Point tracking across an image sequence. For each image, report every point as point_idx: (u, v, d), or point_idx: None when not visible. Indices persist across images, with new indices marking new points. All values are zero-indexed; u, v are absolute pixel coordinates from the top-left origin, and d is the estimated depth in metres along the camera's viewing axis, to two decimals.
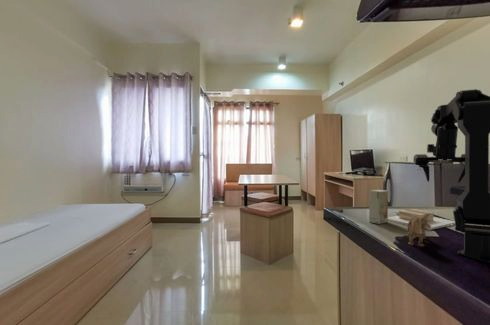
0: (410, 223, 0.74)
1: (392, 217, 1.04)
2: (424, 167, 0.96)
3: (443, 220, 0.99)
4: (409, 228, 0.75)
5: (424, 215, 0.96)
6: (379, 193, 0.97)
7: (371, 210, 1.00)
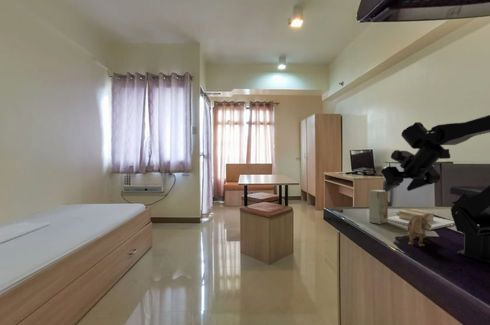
0: (410, 223, 0.74)
1: (392, 217, 1.04)
2: (395, 185, 0.85)
3: (443, 220, 0.99)
4: (409, 228, 0.75)
5: (424, 215, 0.96)
6: (379, 193, 0.97)
7: (371, 210, 1.00)
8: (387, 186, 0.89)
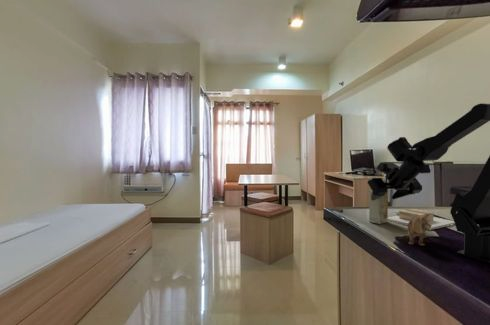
0: (411, 223, 0.75)
1: (392, 217, 1.04)
2: (380, 196, 0.91)
3: (443, 220, 0.99)
4: (410, 228, 0.75)
5: (424, 215, 0.96)
6: None
7: (371, 210, 1.00)
8: (373, 195, 0.95)
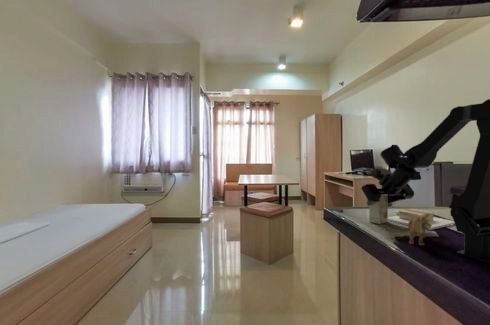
0: (411, 222, 0.75)
1: (392, 217, 1.04)
2: (375, 201, 0.94)
3: (443, 220, 0.99)
4: (410, 227, 0.75)
5: (424, 215, 0.96)
6: None
7: (371, 210, 1.00)
8: (369, 201, 0.99)
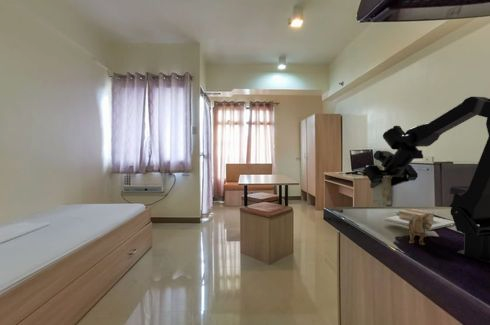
0: (411, 222, 0.75)
1: (392, 217, 1.04)
2: (378, 182, 0.94)
3: (443, 220, 0.99)
4: (410, 227, 0.76)
5: (424, 215, 0.96)
6: None
7: (374, 192, 0.99)
8: (372, 183, 0.99)
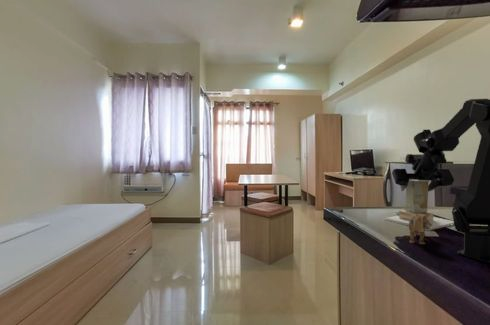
0: (412, 222, 0.76)
1: (392, 217, 1.04)
2: (403, 185, 0.96)
3: (443, 220, 0.99)
4: (411, 226, 0.76)
5: (424, 215, 0.96)
6: (414, 182, 0.98)
7: (407, 199, 1.01)
8: (401, 186, 1.01)
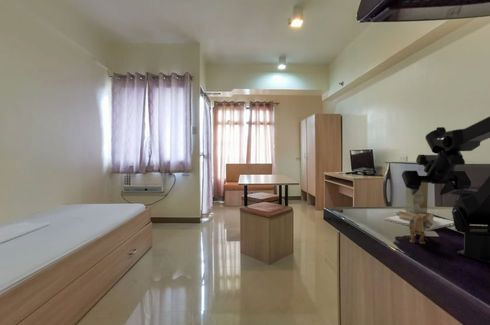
0: (412, 221, 0.76)
1: (392, 217, 1.04)
2: (414, 189, 0.87)
3: (443, 220, 0.99)
4: (411, 226, 0.77)
5: None
6: None
7: (407, 199, 1.01)
8: (411, 189, 0.92)
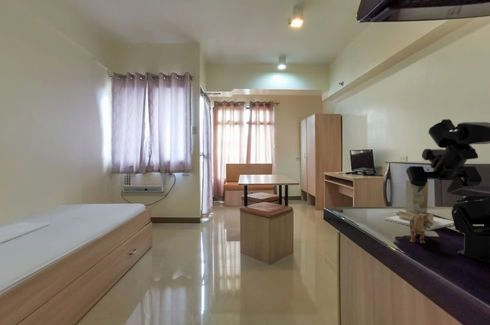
0: (412, 221, 0.77)
1: (392, 217, 1.04)
2: (420, 186, 0.81)
3: (443, 220, 0.99)
4: (411, 226, 0.77)
5: None
6: None
7: (407, 199, 1.01)
8: (416, 186, 0.85)
